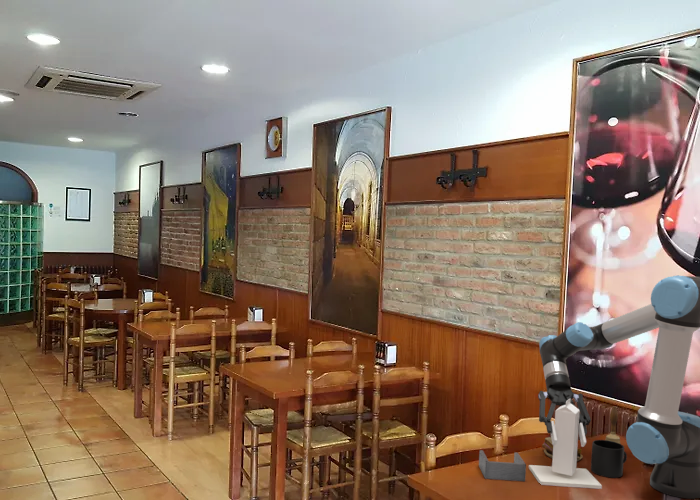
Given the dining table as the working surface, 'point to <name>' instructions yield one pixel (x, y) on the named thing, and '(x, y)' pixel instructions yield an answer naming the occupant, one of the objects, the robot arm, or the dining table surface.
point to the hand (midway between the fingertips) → (569, 443)
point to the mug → (607, 458)
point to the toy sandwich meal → (549, 449)
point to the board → (564, 477)
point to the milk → (566, 439)
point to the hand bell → (613, 426)
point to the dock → (502, 468)
